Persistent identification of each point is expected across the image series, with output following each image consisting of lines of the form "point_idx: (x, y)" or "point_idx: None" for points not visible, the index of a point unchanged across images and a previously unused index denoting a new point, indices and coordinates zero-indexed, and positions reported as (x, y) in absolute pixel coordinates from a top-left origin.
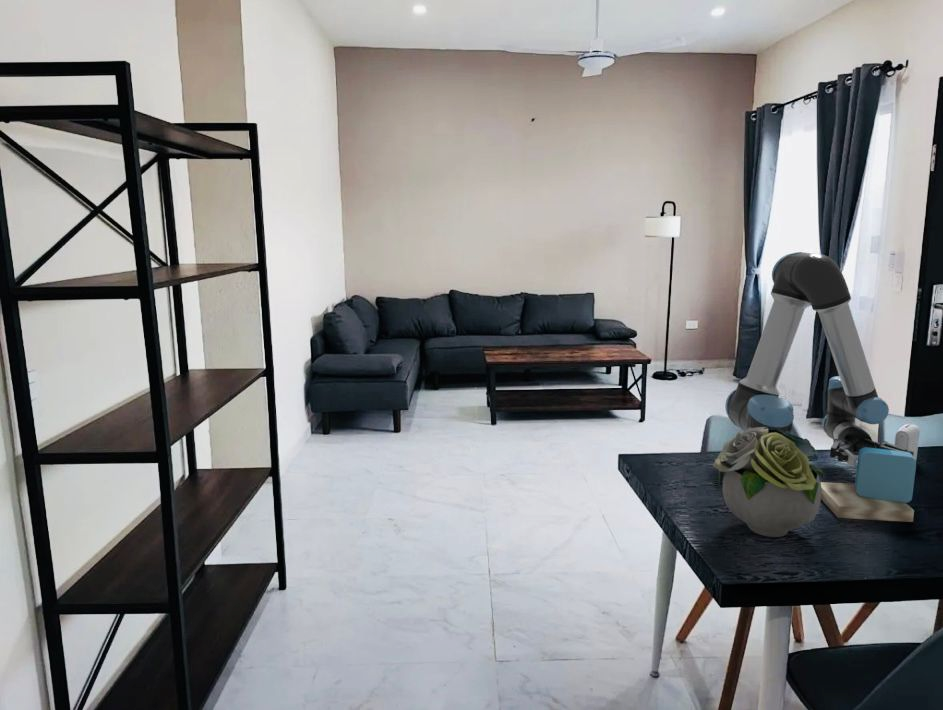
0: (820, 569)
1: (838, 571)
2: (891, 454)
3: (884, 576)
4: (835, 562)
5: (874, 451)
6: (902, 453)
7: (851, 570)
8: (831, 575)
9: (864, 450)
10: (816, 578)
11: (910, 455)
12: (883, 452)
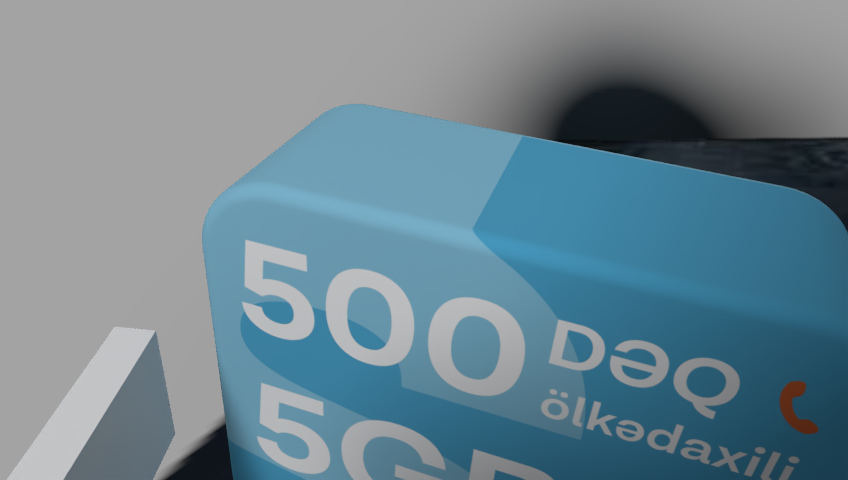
0: (815, 165)
1: (767, 160)
2: (529, 139)
3: (651, 145)
4: (777, 184)
5: (709, 196)
6: (377, 151)
7: (733, 161)
8: (784, 150)
9: (836, 242)
10: (819, 145)
11: (315, 128)
12: (602, 173)
